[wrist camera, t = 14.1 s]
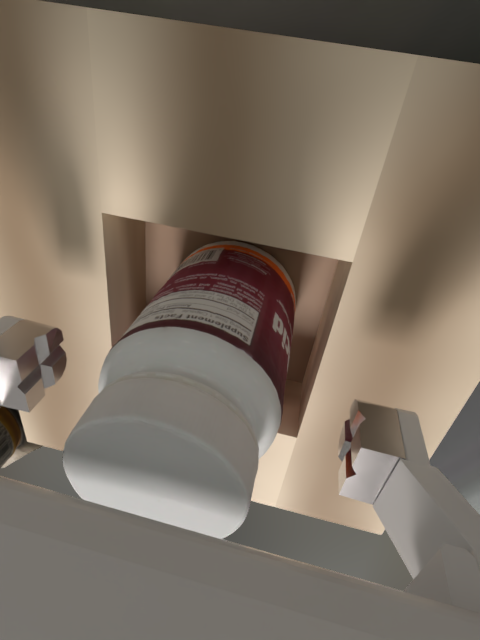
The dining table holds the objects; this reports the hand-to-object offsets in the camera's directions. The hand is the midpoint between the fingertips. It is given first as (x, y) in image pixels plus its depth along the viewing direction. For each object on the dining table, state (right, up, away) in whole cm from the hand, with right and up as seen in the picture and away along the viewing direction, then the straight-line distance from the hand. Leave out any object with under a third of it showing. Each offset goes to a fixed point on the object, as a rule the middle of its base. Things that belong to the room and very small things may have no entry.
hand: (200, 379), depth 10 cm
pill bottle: (+1, +3, +4) cm, 5 cm away
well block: (+1, +3, +5) cm, 6 cm away
